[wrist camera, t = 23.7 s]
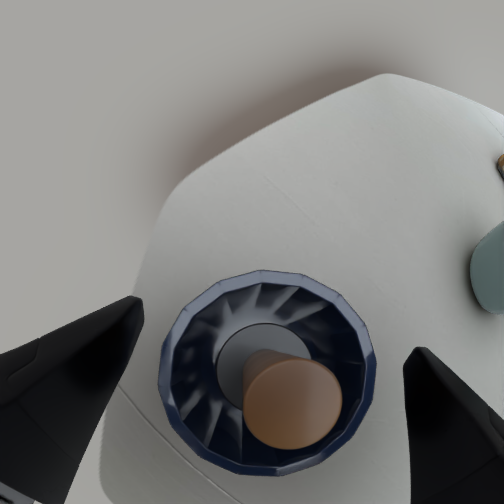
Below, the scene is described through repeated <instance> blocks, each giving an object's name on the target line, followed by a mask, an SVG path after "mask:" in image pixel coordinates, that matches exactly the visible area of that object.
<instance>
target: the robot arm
mask: <svg viewBox="0 0 504 504" xmlns="http://www.w3.org/2000/svg"><path fill="white" fill-rule="evenodd" d="M143 325H144V310H143V301H142V299H141V298H138V297H134V296H127V297H125V298H123V299H121V300H119V301H116V302H114V303H112V304H110V305H108V306H106V307H103V308H101V309H100V310H97V311H95V312H93V313H90V314H88V315H86V316H84V317H82V318H80V319H78V320H76V321H74V322H71V323H69V324H67V325H65V326H63V327H61V328H58V329H56V330H54V331H52V332H50V333H48V334H46V335H44V336H42V337H41V338H37V339H35V340H33V341H31V342H29V343H27V344H24V345H22V346H20V347H18V348H16V349H13V350H10V351H8V352H5V353H3V354H0V504H33V503H34V501H35V500H36V501H38V502H40V503H42V504H64V502H65V500H66V497H67V495H68V492H69V489H70V487H71V484H72V482H73V479H74V477H75V475H76V472H77V470H78V467H79V464H80V462H81V460H82V458H83V455H84V453H85V451H86V449H87V446H88V444H89V442H90V440H91V438H92V435H93V433H94V431H95V429H96V427H97V425H98V423H99V421H100V418H101V416H102V414H103V412H104V410H105V408H106V406H107V404H108V402H109V400H110V398H111V396H112V394H113V392H114V390H115V388H116V386H117V384H118V382H119V380H120V378H121V376H122V374H123V373H124V371H125V369H126V367H127V365H128V362H129V360H130V358H131V355H132V352H133V350H134V347H135V345H136V342H137V340H138V337H139V335H140V332H141V330H142V327H143ZM403 378H404V396H405V411H406V419H407V428H408V439H409V452H410V473H411V504H504V420H503V419H502V418H501V417H500V416H499V415H498V414H497V413H496V412H495V411H494V410H493V409H492V408H491V407H490V406H488V404H487V403H486V402H485V401H484V400H483V399H481V398H480V397H479V396H478V395H477V394H476V393H475V392H474V391H473V390H472V389H471V388H470V387H469V386H468V385H467V384H466V383H465V382H464V381H463V380H462V379H460V378H459V377H458V376H457V375H456V374H455V373H454V372H453V371H452V370H451V369H450V368H449V367H448V366H446V365H445V364H444V363H443V362H442V361H441V360H440V359H439V358H438V357H437V356H435V355H434V354H433V353H432V352H431V351H430V350H429V349H428V348H426V347H416V348H414V349H413V351H412V352H411V354H410V355H409V357H408V358H407V360H406V361H405V363H404V365H403Z"/></svg>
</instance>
